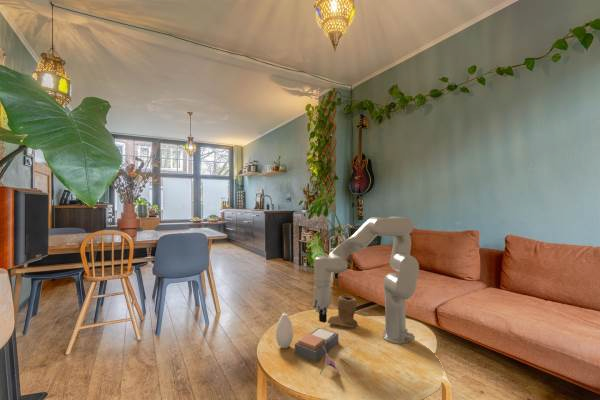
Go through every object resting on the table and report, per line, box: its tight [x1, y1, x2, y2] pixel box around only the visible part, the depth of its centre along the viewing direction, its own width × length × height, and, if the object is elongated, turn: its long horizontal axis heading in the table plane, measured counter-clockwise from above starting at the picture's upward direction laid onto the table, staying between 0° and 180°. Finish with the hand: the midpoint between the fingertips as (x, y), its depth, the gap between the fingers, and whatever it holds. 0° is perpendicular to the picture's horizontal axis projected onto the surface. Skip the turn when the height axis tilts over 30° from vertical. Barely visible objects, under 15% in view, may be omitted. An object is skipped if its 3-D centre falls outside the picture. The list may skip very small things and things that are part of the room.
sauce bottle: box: [275, 308, 294, 349], centre depth 128 cm, size 8×8×18 cm
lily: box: [319, 344, 341, 376], centre depth 109 cm, size 12×12×10 cm
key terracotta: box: [298, 333, 324, 350], centre depth 123 cm, size 8×8×2 cm
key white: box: [311, 328, 336, 341], centre depth 131 cm, size 8×8×2 cm
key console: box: [294, 327, 339, 364], centre depth 127 cm, size 11×20×4 cm, turn 144°
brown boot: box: [327, 295, 358, 328], centre depth 152 cm, size 15×12×15 cm
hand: (322, 321), depth 131 cm, fingers closed
